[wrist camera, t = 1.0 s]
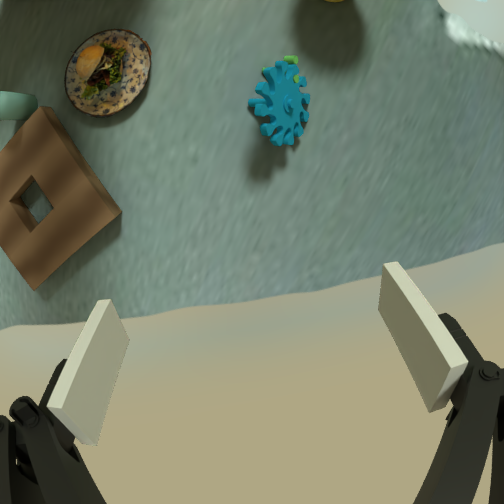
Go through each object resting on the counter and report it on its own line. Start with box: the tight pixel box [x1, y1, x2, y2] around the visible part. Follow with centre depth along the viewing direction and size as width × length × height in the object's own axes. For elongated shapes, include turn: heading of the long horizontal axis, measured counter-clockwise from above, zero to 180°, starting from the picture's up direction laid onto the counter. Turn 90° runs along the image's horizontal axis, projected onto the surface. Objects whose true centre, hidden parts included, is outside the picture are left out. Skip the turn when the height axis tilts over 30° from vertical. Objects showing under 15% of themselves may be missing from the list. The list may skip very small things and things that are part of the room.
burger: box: [64, 29, 152, 118], centre depth 28 cm, size 12×12×8 cm
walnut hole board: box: [0, 106, 122, 291], centre depth 35 cm, size 18×18×3 cm
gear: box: [248, 56, 310, 146], centre depth 33 cm, size 11×6×10 cm
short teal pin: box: [0, 91, 37, 120], centre depth 28 cm, size 4×4×7 cm
